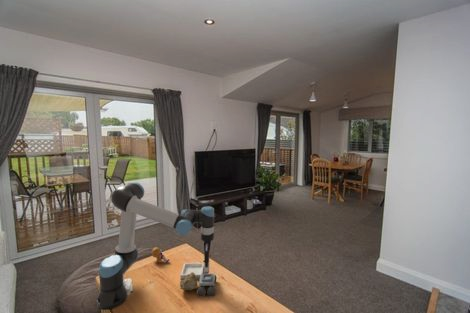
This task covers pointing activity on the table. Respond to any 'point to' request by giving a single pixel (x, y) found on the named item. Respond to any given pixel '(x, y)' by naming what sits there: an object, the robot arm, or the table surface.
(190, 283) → the rock
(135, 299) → the table surface
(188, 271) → the tray
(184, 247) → the table surface
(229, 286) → the table surface
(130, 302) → the table surface
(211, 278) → the trolley
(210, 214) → the robot arm
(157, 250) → the toy
